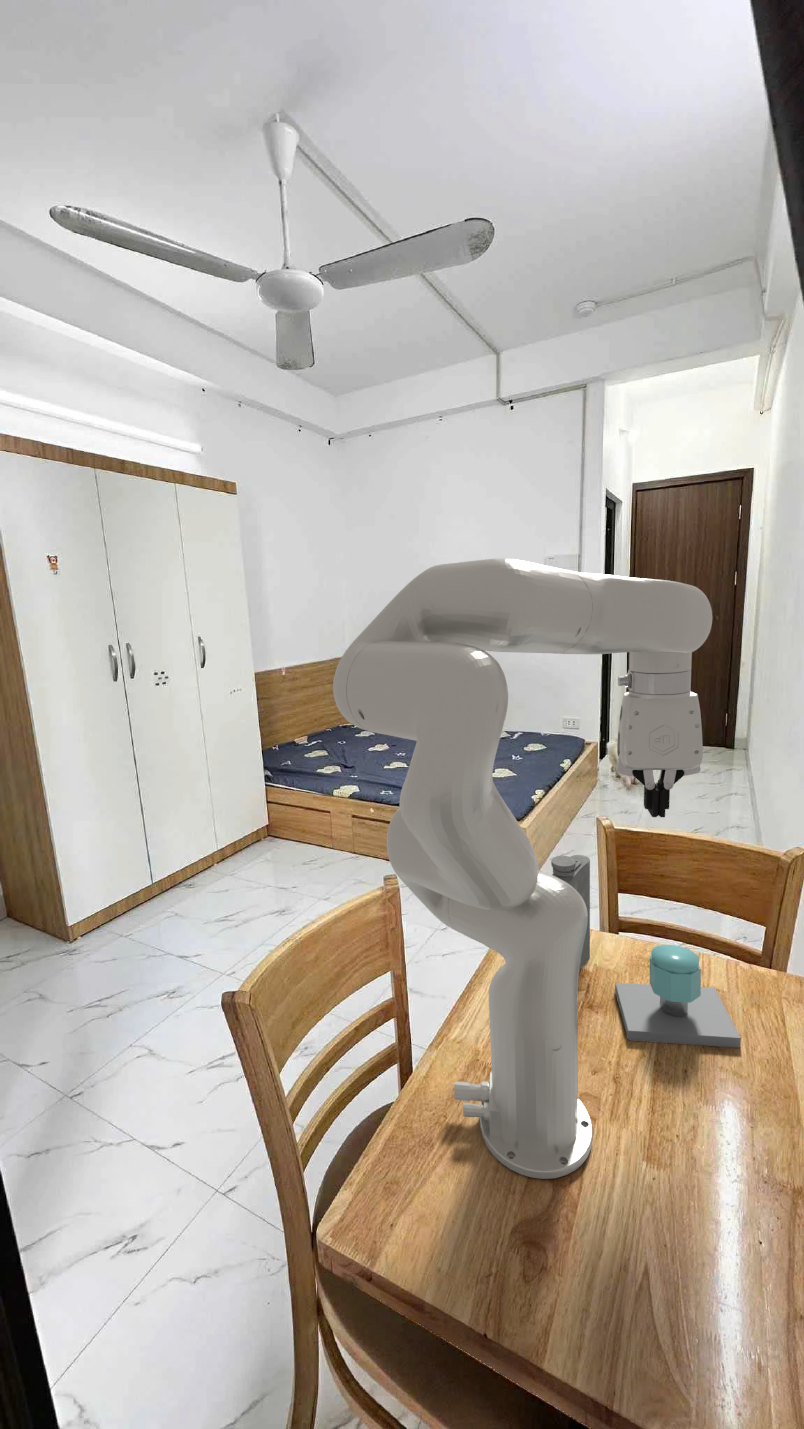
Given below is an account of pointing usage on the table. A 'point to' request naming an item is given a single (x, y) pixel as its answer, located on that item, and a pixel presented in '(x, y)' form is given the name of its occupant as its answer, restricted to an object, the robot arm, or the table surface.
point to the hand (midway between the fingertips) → (656, 813)
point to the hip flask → (576, 887)
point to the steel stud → (673, 1008)
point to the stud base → (675, 1018)
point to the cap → (675, 973)
